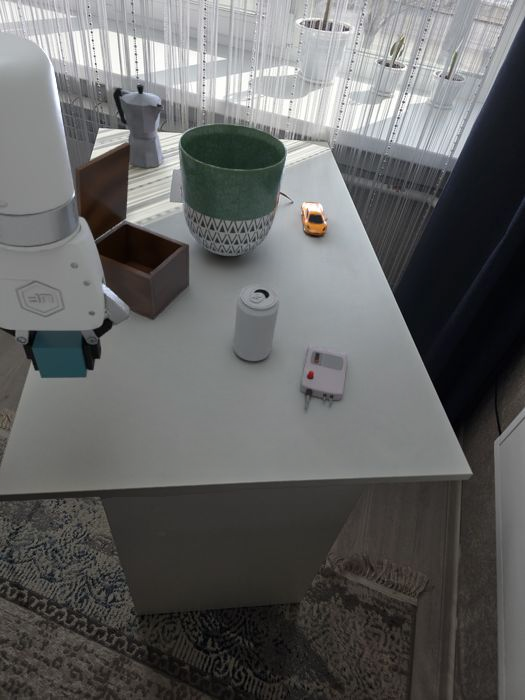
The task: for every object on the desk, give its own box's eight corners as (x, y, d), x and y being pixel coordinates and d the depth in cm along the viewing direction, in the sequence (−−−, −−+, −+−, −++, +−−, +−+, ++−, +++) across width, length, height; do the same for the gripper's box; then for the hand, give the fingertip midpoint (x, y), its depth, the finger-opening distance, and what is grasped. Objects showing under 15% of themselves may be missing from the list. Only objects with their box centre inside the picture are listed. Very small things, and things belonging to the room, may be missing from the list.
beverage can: (277, 347, 80) (288, 293, 71) (257, 370, 76) (265, 315, 67) (246, 331, 82) (253, 276, 73) (225, 352, 78) (229, 296, 69)
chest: (189, 284, 89) (189, 244, 83) (153, 320, 81) (149, 279, 75) (129, 260, 92) (124, 219, 86) (88, 291, 84) (80, 250, 78)
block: (41, 378, 50) (31, 348, 47) (49, 347, 53) (40, 317, 50) (86, 377, 51) (80, 348, 47) (91, 347, 54) (86, 317, 51)
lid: (130, 143, 75) (126, 141, 75) (79, 170, 67) (74, 167, 67) (126, 218, 85) (122, 216, 85) (82, 249, 78) (78, 247, 78)
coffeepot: (177, 162, 123) (175, 88, 110) (153, 174, 117) (148, 97, 104) (132, 144, 128) (125, 70, 115) (107, 155, 122) (97, 78, 109)
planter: (175, 270, 91) (172, 164, 76) (184, 218, 105) (183, 118, 89) (274, 278, 93) (291, 175, 78) (270, 225, 107) (284, 129, 91)
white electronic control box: (346, 349, 81) (351, 337, 79) (338, 420, 71) (343, 409, 68) (309, 340, 82) (312, 328, 80) (295, 410, 71) (298, 398, 69)
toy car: (302, 237, 105) (305, 223, 102) (298, 209, 113) (300, 196, 111) (328, 239, 105) (331, 225, 103) (321, 211, 114) (324, 198, 111)
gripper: (-104, 232, 35) (-27, 388, 48) (132, 241, 38) (144, 386, 51) (-67, 184, 40) (-7, 337, 53) (137, 195, 43) (147, 337, 56)
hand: (66, 359), depth 52 cm, fingers closed on block, 4 cm apart
